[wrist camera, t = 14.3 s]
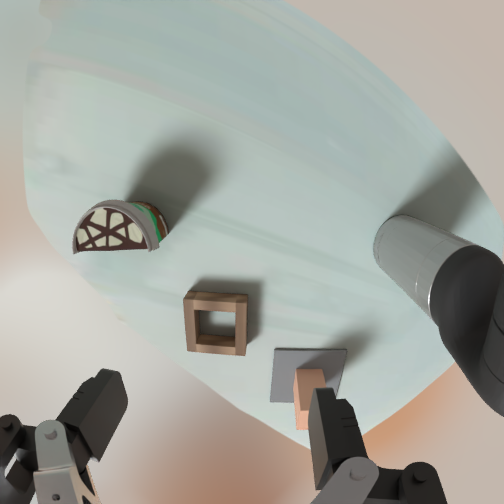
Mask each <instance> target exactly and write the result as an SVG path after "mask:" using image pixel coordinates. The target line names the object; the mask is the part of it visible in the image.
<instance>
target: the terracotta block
mask: <svg viewBox="0 0 504 504" xmlns="http://www.w3.org/2000/svg"><path fill="white" fill-rule="evenodd" d="M314 388H326V383H325V379H324V374H323V370H322V369H296V372H295V379H294V386H293V392H294V404H295V416H296V428H297V430H308V413H309V408H310V403H311V398H312V393H313V389H314Z"/></svg>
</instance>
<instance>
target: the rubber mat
mask: <svg viewBox="0 0 504 504" xmlns="http://www.w3.org/2000/svg"><path fill="white" fill-rule="evenodd" d="M346 353H347V349H344V350H291V349H275V350H274V362H273V373H272V384H271V395H270V402H286V403H294V392H293V386H294V379H295V372H296V369H322V370H323V374H324V379H325V383H326V387H333V389H334V393H335V396H336V394H337V390H338V386H339V382H340V378H341V374H342V370H343V366H344V362H345V358H346Z"/></svg>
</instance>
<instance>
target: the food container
mask: <svg viewBox="0 0 504 504" xmlns="http://www.w3.org/2000/svg"><path fill="white" fill-rule="evenodd" d="M168 234H169V231H168V226H167V223H166V221H165V219H164V217H163V215H162V214H161V213H160V212H159V211H158V210H157V208H155V207H153V206H152V205H150V204H148V203H145V202H130V203H127V202H124V201H120V200H107V201H103V202H100V203H98V204H96V205H95V206H93V207H92V208H91V209H89V210H88V211H87V212H86V213H85V214H84V215H83V216H82V218H81V219H80V221H79V222H78V224H77V226H76V228H75V231H74V235H73V241H72V249H73V254H75V253H78V252H80V251H81V252H82V251H114V250H131V249H148V252H150V251H151V250H155V249H157V248H159V242H160V241H162V240H163V239H164V238H165V237H166V236H167V235H168Z"/></svg>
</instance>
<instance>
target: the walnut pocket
mask: <svg viewBox="0 0 504 504" xmlns="http://www.w3.org/2000/svg"><path fill="white" fill-rule="evenodd" d="M183 304H184V318H185V330H186V342H187V351H191V352H201V353H212V354H224V355H238V356H245V354H246V346H247V311H248V295H247V294H228V293H211V292H196V291H188V292H187V294H186V295H185V297H184V299H183ZM199 310H207V311H222V312H236V325H235V337H231V336H217V335H204V334H200V323H199Z"/></svg>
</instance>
